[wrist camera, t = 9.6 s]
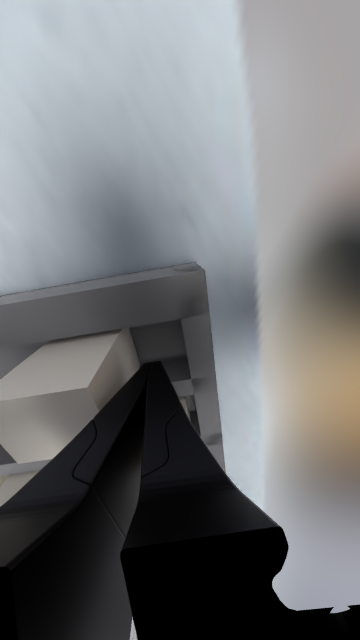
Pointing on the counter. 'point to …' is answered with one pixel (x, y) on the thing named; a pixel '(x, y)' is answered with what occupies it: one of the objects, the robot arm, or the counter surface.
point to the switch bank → (145, 327)
